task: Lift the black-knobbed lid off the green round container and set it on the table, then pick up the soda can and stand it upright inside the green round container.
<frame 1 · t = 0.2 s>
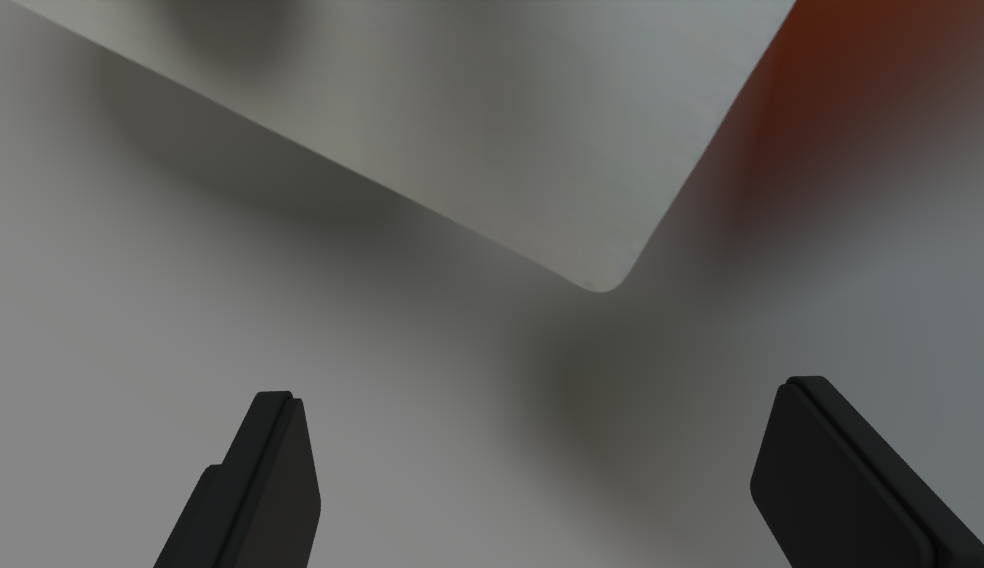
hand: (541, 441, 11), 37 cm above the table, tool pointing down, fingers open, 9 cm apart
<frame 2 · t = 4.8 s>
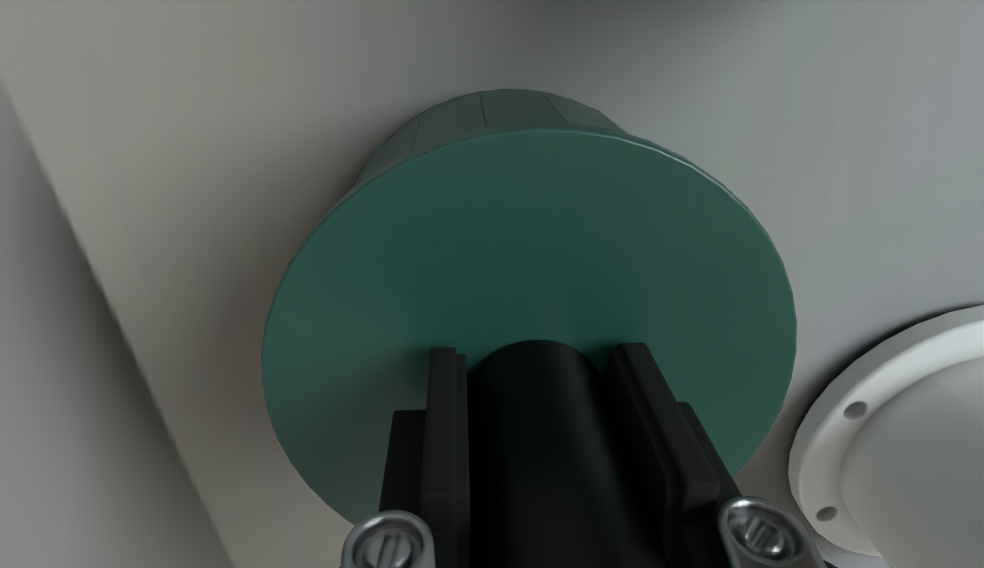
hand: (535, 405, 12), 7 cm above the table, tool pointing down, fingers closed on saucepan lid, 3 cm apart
saucepan lid: (530, 379, 13), point 7 cm above the table, touching gripper, green round container
green round container: (507, 259, 19), on the table
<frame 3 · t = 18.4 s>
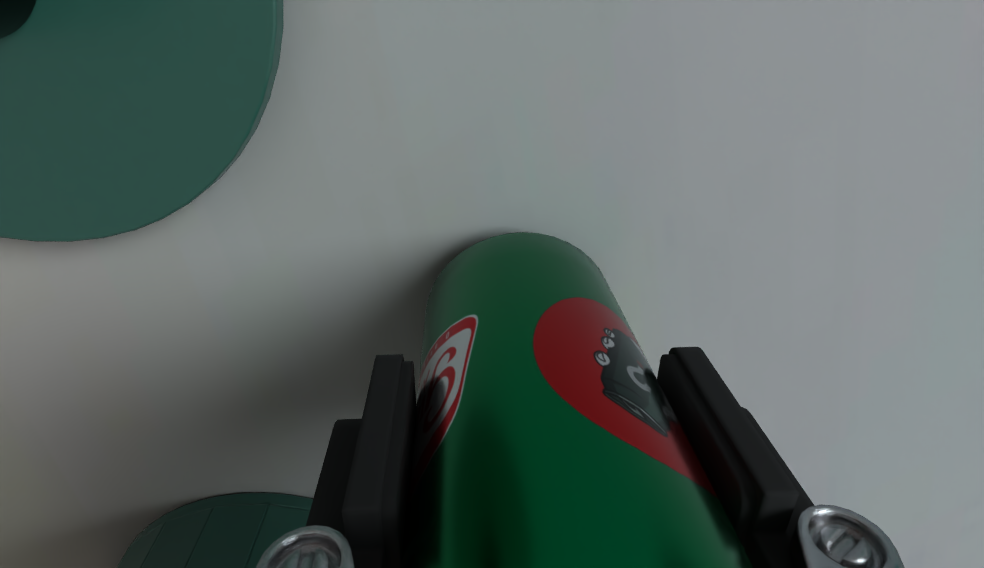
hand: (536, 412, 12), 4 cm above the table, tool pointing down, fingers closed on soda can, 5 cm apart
soda can: (516, 304, 16), on the table, touching gripper
when the fingers open (6 cm above the table, at t = 27.1 s): soda can stays where it is, resting on green round container.
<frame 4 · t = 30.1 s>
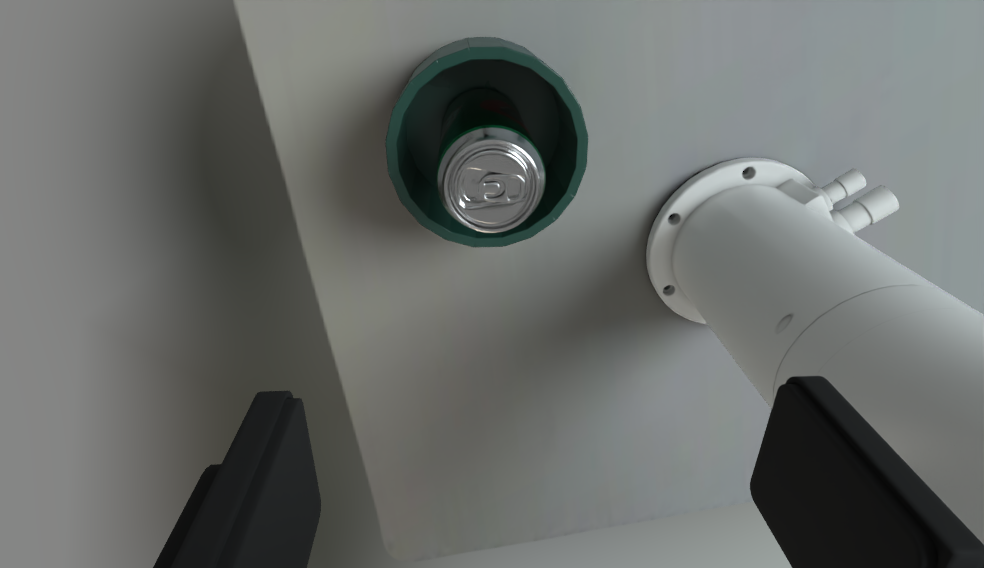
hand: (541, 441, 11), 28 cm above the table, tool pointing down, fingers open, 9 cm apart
soda can: (481, 128, 36), resting on green round container
green round container: (482, 128, 36), on the table
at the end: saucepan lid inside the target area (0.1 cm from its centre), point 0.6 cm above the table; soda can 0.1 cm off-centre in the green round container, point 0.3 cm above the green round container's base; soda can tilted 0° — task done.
